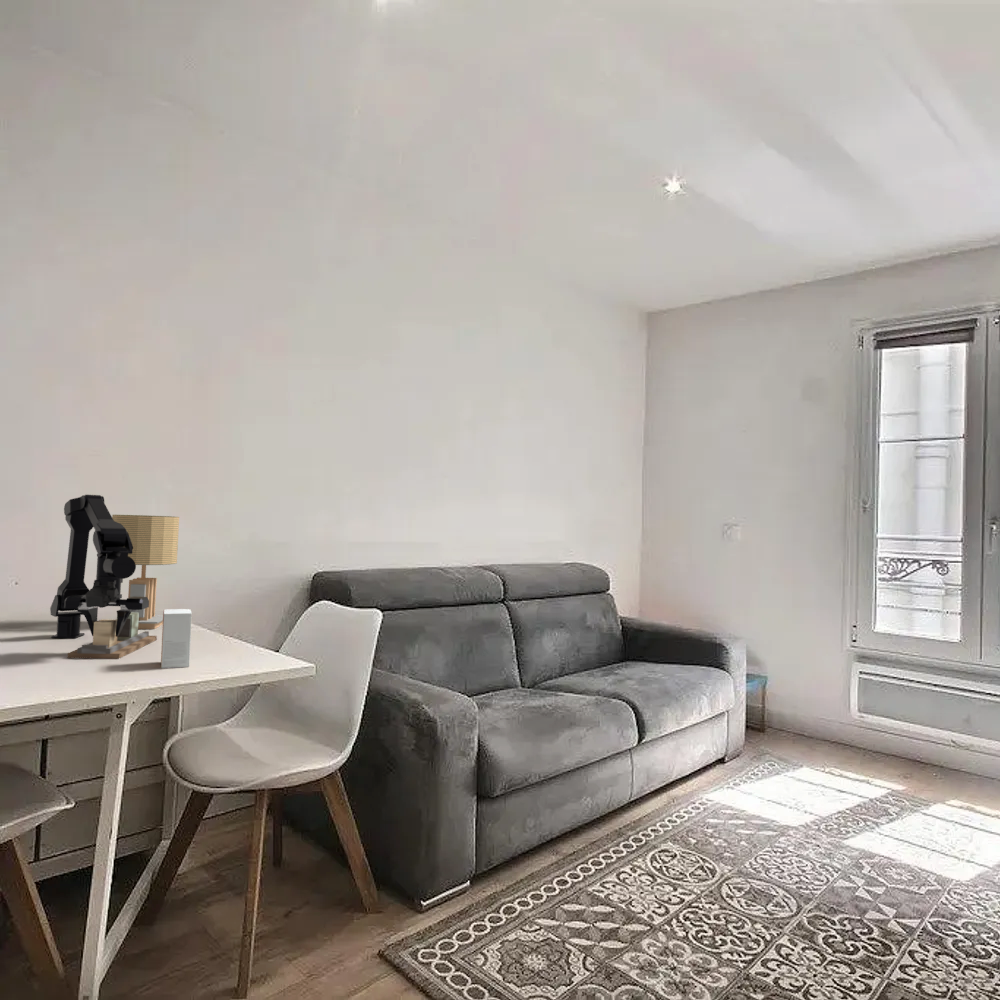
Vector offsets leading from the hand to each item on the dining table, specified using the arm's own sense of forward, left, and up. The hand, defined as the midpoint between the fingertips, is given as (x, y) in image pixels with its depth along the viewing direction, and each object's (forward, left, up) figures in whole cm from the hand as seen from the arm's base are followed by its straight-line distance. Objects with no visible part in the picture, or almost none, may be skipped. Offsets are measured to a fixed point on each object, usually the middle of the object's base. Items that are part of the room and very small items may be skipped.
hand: (105, 636), depth 187 cm
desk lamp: (-47, -7, -5) cm, 48 cm away
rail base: (-7, 0, -4) cm, 8 cm away
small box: (+13, +21, -5) cm, 25 cm away
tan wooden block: (0, 0, -3) cm, 3 cm away
